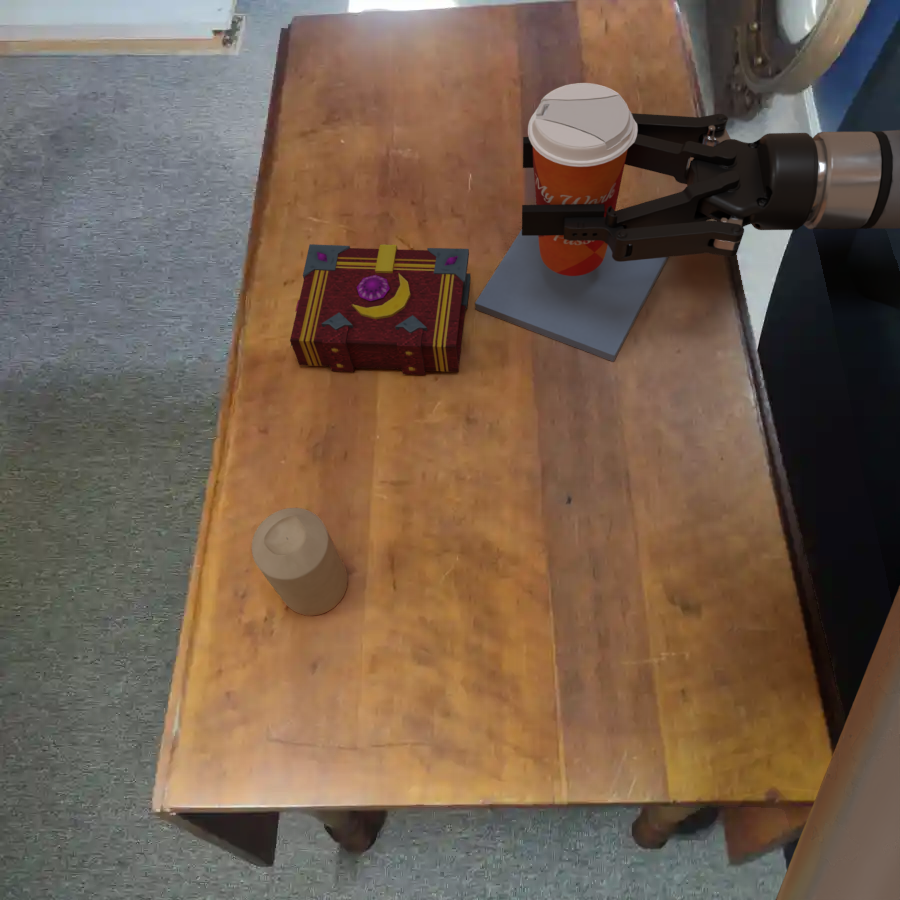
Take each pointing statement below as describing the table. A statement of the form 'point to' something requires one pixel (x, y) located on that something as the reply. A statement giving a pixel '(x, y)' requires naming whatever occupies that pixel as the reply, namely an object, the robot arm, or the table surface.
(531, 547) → the table surface
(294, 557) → the candle
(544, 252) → the coffee cup
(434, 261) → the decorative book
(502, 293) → the cup mat
